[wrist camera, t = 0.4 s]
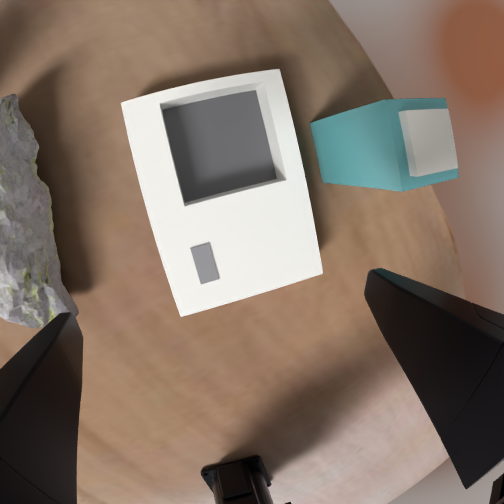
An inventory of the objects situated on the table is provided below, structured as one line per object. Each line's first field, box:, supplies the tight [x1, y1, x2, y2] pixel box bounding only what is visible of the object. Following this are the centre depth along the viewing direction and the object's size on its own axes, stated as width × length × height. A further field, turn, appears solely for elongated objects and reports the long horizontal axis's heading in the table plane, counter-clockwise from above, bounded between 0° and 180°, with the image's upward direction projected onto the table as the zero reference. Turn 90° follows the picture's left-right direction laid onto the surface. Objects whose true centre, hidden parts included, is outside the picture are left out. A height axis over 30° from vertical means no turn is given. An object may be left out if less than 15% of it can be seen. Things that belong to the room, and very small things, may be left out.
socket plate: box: [121, 69, 323, 317], centre depth 20 cm, size 14×10×3 cm
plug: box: [310, 98, 459, 191], centre depth 18 cm, size 4×4×10 cm
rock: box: [0, 94, 79, 329], centre depth 15 cm, size 16×7×7 cm, turn 9°
